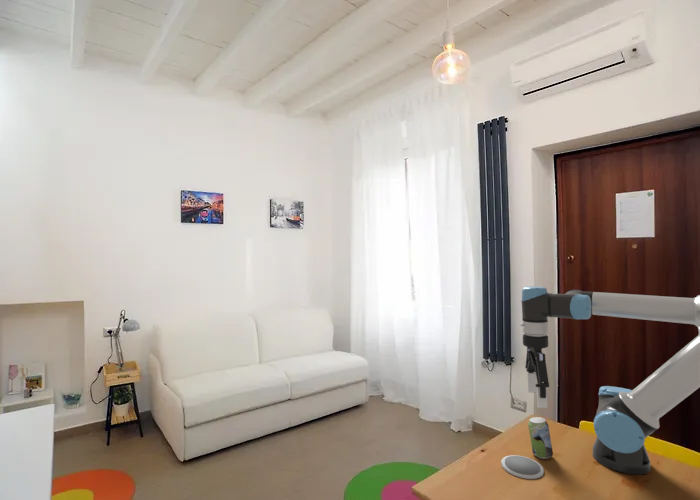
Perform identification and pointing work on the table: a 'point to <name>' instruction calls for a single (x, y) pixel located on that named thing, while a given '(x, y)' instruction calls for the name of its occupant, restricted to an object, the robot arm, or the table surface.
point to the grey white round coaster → (522, 467)
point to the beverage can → (540, 437)
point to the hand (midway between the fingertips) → (537, 399)
